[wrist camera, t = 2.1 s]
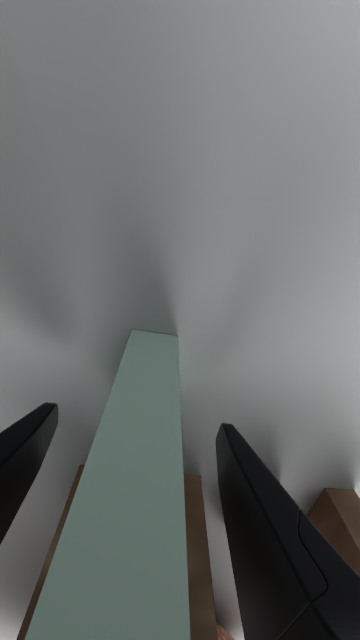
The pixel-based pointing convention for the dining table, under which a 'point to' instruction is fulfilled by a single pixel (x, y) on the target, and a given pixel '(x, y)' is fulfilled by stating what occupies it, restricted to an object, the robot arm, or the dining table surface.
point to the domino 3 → (198, 564)
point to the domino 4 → (339, 523)
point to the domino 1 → (48, 559)
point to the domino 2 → (126, 515)
